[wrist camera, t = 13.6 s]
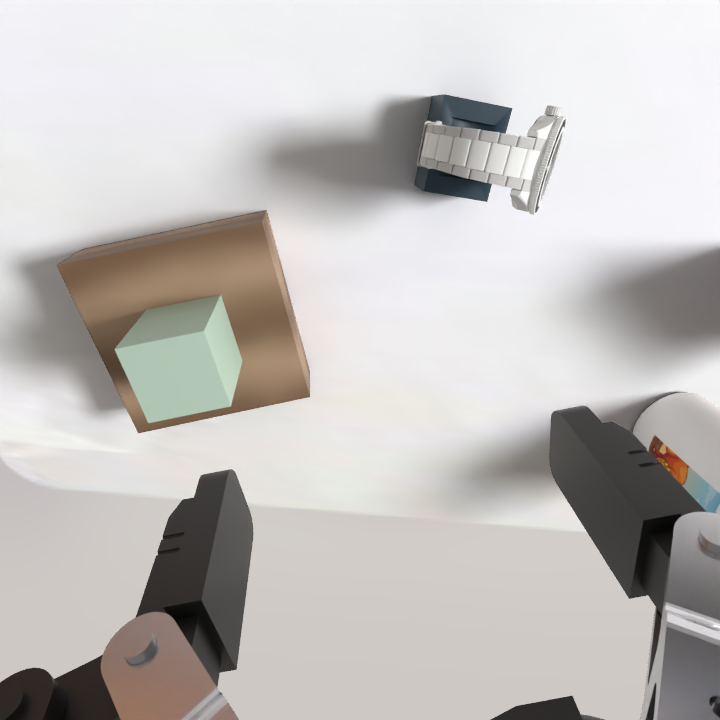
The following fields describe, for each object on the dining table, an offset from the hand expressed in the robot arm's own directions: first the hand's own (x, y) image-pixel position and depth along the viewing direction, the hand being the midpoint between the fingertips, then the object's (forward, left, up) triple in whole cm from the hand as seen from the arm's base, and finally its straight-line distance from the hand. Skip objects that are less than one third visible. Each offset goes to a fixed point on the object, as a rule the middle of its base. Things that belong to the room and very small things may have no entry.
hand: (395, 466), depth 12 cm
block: (+4, -11, -22) cm, 25 cm away
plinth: (+4, -11, -26) cm, 28 cm away
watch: (-4, +9, -26) cm, 28 cm away
